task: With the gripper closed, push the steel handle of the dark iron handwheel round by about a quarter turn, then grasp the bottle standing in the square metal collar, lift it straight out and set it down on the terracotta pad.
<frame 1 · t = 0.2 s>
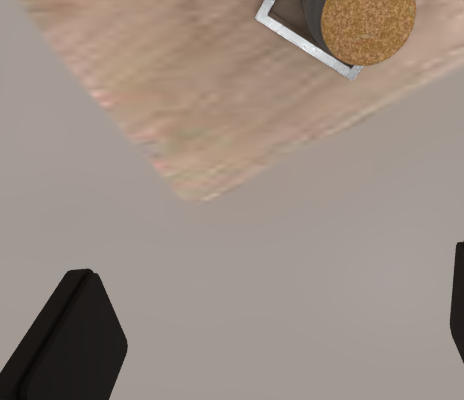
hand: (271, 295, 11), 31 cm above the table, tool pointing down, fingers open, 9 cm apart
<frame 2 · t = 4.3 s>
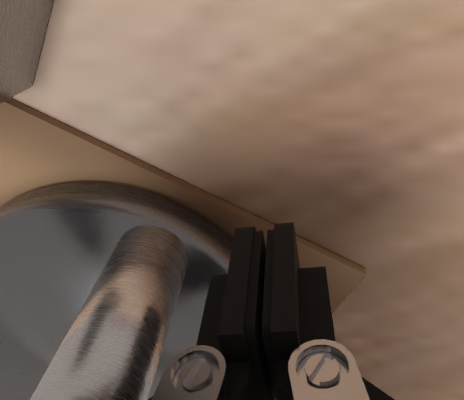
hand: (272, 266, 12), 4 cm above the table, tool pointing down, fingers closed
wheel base: (126, 312, 20), on the table
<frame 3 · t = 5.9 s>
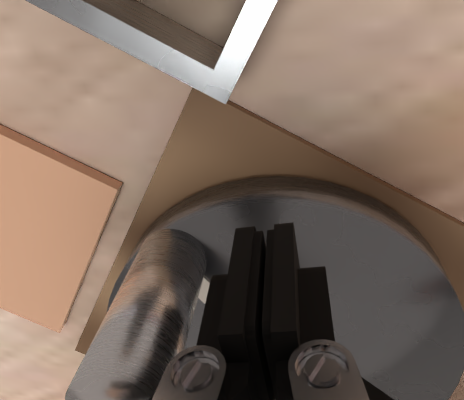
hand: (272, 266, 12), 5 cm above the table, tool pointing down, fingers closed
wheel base: (279, 309, 20), on the table
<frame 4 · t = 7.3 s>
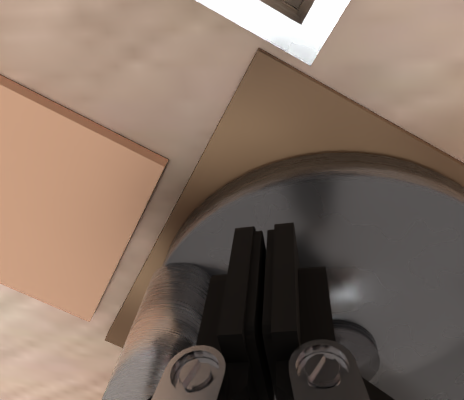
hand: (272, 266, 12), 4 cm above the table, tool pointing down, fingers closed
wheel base: (328, 298, 18), on the table
pad: (23, 197, 17), on the table
handwheel: (337, 396, 14), point 5 cm above the table, hinge at 93.9°, touching gripper
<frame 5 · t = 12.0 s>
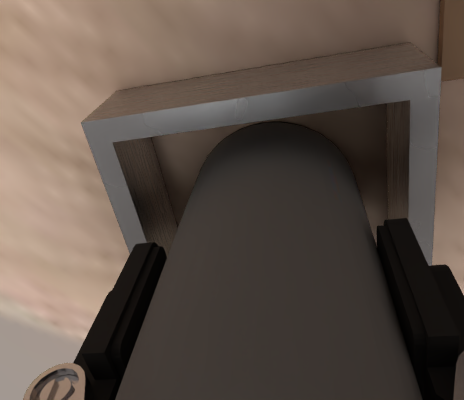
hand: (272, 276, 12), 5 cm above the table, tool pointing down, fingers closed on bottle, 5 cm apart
collar: (274, 195, 16), on the table
bottle: (274, 192, 16), resting in collar, touching gripper
when the fingers open (7 cm above the table, at t = 17.8 s): bottle drops 1 cm, resting on pad.
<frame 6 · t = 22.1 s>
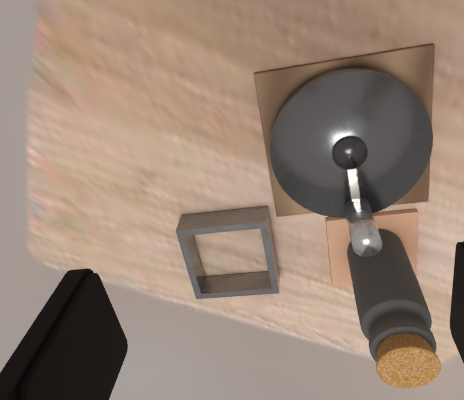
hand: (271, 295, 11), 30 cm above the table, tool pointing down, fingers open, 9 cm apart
collar: (231, 246, 49), on the table
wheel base: (345, 139, 41), on the table
pad: (371, 248, 47), on the table
bottle: (374, 249, 46), resting on pad
handwheel: (352, 162, 37), point 5 cm above the table, hinge at 94.0°
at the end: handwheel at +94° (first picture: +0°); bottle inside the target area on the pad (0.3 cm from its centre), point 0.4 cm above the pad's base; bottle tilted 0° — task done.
